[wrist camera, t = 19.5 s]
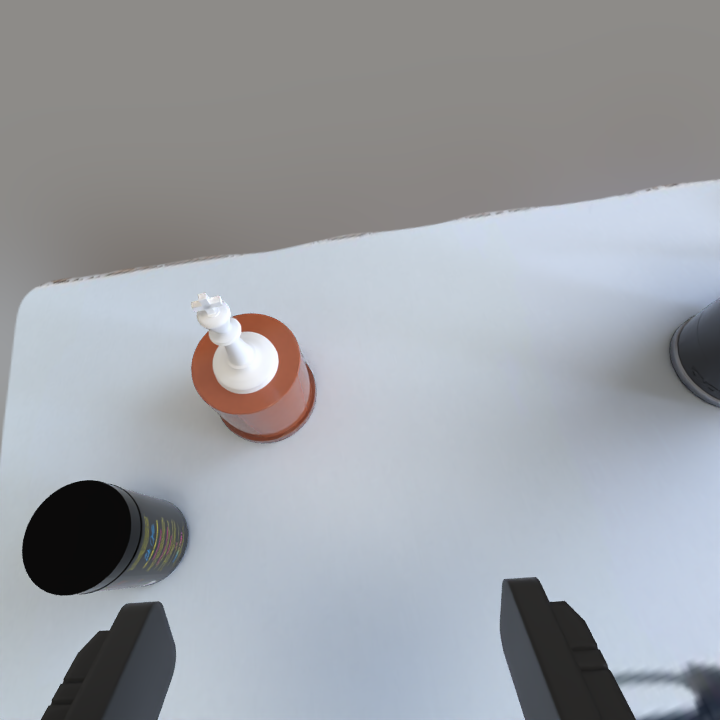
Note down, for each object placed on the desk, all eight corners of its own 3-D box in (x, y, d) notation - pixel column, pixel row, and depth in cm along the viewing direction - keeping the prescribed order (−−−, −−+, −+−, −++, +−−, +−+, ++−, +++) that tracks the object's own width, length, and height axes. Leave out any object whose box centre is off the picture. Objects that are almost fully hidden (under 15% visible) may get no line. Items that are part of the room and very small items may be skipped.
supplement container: (187, 489, 40) (128, 468, 31) (196, 573, 38) (135, 579, 28) (108, 510, 40) (23, 494, 30) (111, 596, 37) (19, 609, 28)
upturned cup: (273, 332, 46) (254, 289, 39) (336, 395, 43) (328, 361, 36) (199, 394, 44) (163, 361, 36) (260, 464, 41) (235, 443, 34)
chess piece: (210, 342, 37) (155, 270, 28) (272, 328, 37) (238, 252, 28) (218, 401, 35) (162, 344, 26) (283, 385, 35) (251, 324, 26)
